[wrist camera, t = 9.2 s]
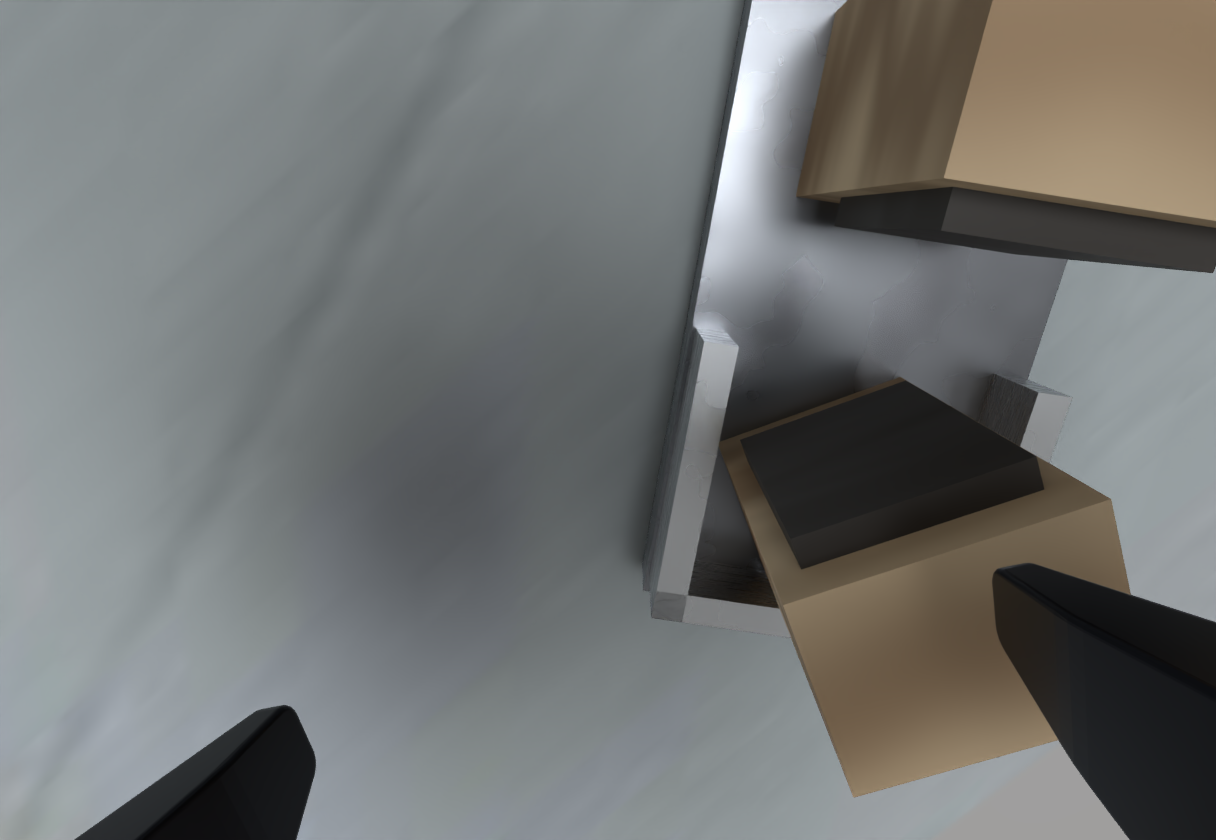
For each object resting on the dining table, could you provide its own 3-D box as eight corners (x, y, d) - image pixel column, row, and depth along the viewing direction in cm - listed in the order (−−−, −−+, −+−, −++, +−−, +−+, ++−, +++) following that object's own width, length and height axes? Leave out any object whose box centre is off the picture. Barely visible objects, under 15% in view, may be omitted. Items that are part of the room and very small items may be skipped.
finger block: (710, 422, 18) (771, 573, 10) (894, 355, 17) (1103, 462, 10) (763, 567, 19) (853, 797, 12) (937, 509, 19) (1155, 712, 11)
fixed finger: (835, 11, 15) (1047, -197, 8) (1052, 46, 15) (1476, -124, 8) (790, 222, 17) (929, 225, 9) (990, 253, 17) (1298, 283, 9)
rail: (769, -137, 16) (808, -233, 12) (1139, -76, 16) (1275, -154, 13) (642, 564, 21) (645, 630, 18) (920, 605, 21) (975, 678, 18)
